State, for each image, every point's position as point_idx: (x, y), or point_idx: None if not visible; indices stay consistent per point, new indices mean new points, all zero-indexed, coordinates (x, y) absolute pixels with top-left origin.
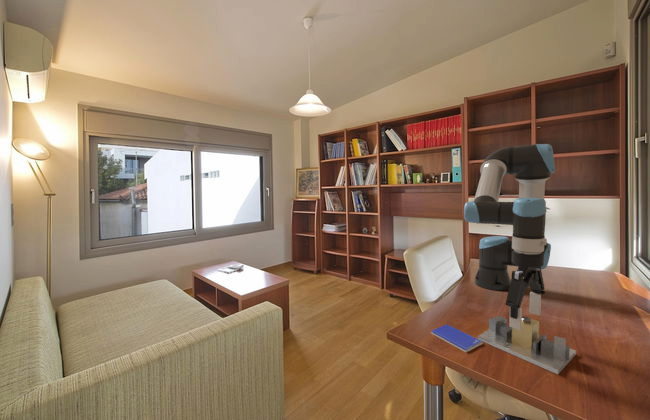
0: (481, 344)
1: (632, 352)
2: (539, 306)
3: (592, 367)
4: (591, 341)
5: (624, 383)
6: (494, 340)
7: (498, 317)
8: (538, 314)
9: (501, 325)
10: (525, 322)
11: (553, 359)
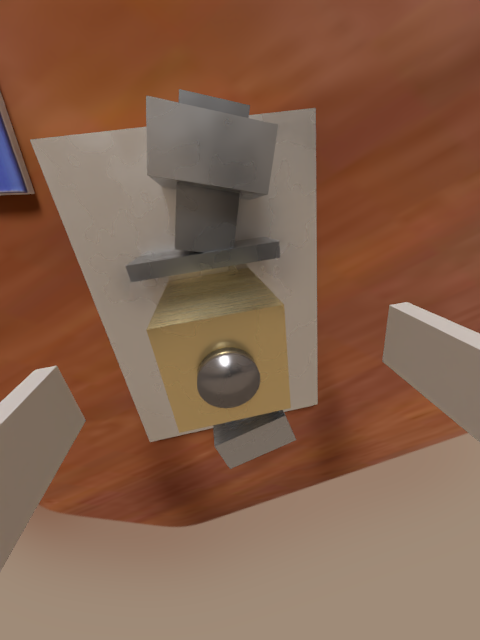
0: (24, 193)
1: (433, 431)
2: (439, 407)
3: None
4: None
5: (265, 482)
6: (92, 229)
7: (237, 137)
8: (386, 360)
9: (190, 202)
10: (196, 389)
11: None
